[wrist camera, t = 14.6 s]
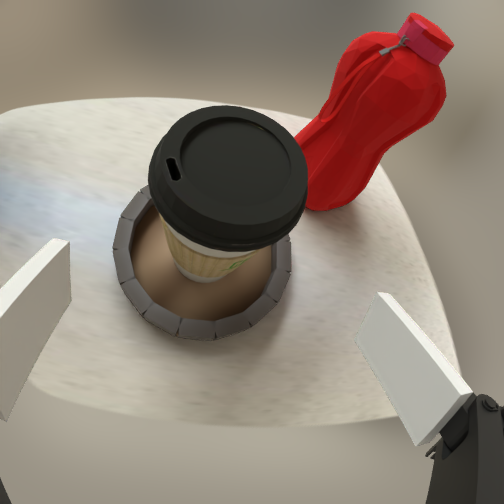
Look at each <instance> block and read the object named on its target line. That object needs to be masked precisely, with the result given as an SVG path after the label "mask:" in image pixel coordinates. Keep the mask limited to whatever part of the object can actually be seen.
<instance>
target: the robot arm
mask: <svg viewBox="0 0 504 504" xmlns="http://www.w3.org/2000/svg"><path fill="white" fill-rule="evenodd" d="M71 301H72V299H71V283H70V241H66V240H61V239H56V238H53V239H52V240H51V241H49V242H48V243H47V244H46V245H45V246H44V247H43V248H42V249H41V250H40V251H38V252H37V253H36V254H35V255H34V256H33V257H32V258H31V259H30V260H29V261H28V262H27V263H26V264H25V265H24V266H23V267H22V268H21V269H20V270H19V271H18V272H17V273H16V274H15V275H14V276H13V277H12V278H11V279H10V280H9V281H8V282H7V283H6V284H5V285H4V286H3V287H2V288H1V289H0V419H1V420H4V421H6V422H7V420H8V418H9V416H10V413H11V411H12V409H13V407H14V404H15V402H16V400H17V398H18V396H19V394H20V392H21V390H22V388H23V386H24V383H25V382H26V380H27V378H28V376H29V374H30V372H31V370H32V368H33V366H34V364H35V362H36V360H37V359H38V357H39V355H40V353H41V351H42V349H43V348H44V346H45V344H46V342H47V341H48V339H49V337H50V335H51V334H52V332H53V330H54V329H55V327H56V325H57V323H58V322H59V320H60V319H61V317H62V315H63V314H64V312H65V310H66V309H67V307H68V306H69V304H70V302H71ZM354 341H355V342H356V344H357V345H358V347H359V349H360V350H361V352H362V354H363V355H364V357H365V359H366V360H367V362H368V364H369V365H370V367H371V369H372V371H373V372H374V374H375V376H376V377H377V379H378V381H379V382H380V384H381V386H382V388H383V389H384V391H385V393H386V394H387V396H388V398H389V400H390V401H391V403H392V405H393V407H394V408H395V410H396V412H397V414H398V416H399V417H400V419H401V421H402V422H403V424H404V426H405V428H406V430H407V432H408V433H409V435H410V437H411V439H412V440H413V442H414V444H415V446H420V445H423V444H426V443H429V442H430V441H431V440H432V439H433V438H434V437H435V436H436V435H437V434H438V433H440V434H441V436H442V438H441V439H440V440H439V441H438V442H437V443H436V444H435V445H434V446H433V447H432V448H431V449H430V450H429V451H428V452H427V453H426V455H425V456H426V457H428V456H429V455H430V454H431V453H432V452H436V453H435V454H434V455H432V457H431V459H434V465H433V471H432V477H431V481H430V486H429V491H428V496H427V500H426V504H504V406H503V407H501V406H499V405H498V404H497V403H496V402H495V401H494V400H493V399H492V398H491V397H489V396H488V395H484V394H480V395H478V396H476V395H475V394H474V393H473V391H472V390H471V389H470V388H469V386H468V385H467V384H466V382H465V381H464V380H463V379H462V377H461V376H460V375H459V374H458V372H457V371H456V370H455V369H454V367H453V366H452V365H451V364H450V362H449V361H448V360H447V359H446V358H445V356H444V355H443V354H442V353H441V352H440V350H439V349H438V348H437V347H436V346H435V345H434V343H433V342H432V341H431V340H430V339H429V337H428V336H427V335H426V334H425V333H424V332H423V331H422V329H421V328H420V327H419V326H418V325H417V324H416V323H415V321H414V320H413V319H412V318H411V317H410V316H409V315H408V314H407V312H406V311H405V310H404V309H403V308H402V307H401V306H400V305H399V304H398V302H397V301H396V300H395V299H394V298H393V297H392V296H391V295H390V294H389V293H383V292H376V294H375V297H374V299H373V301H372V303H371V305H370V307H369V310H368V312H367V314H366V316H365V318H364V320H363V322H362V324H361V326H360V328H359V330H358V332H357V334H356V336H355V338H354ZM0 504H11V501H10V499H9V497H8V495H7V493H6V490H5V488H4V486H3V484H2V481H1V479H0Z"/></svg>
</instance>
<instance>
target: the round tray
mask: <svg viewBox="0 0 504 504" xmlns="http://www.w3.org/2000/svg"><path fill="white" fill-rule="evenodd" d="M140 191H141V192H139V191H138V192H137V194H136V195H135V196H134V198H133V199H132V200H131V202H130V203H129V204H128V206H127V207H126V208H125V210H124V211H123V213H122V214H121V218H119V221H118V226H117V230H116V234H115V239H114V243H113V256H114V261H115V266H116V270H117V275H118V280H119V283H120V285H121V287H122V289H123V291H124V293H125V294H126V295H127V297H128V298H129V299H130V301H131V302H132V304H133V305H134V306H135V308H136V309H137V310H138V312H139V313H140V314H141V315H142V317H143V318H145V320H146V321H148V322H150V323H152V324H153V325H155V326H157V327H159V328H160V329H162V330H164V331H166V332H168V333H169V334H171V335H173V336H175V335H177V336H178V338H187V339H197V340H207V341H211V340H217V339H220V338H223V337H226V336H230V335H233V334H236V333H239V332H242V331H245V330H247V329H249V328H251V327H252V326H254V325H255V324H256V323H257V322H258V321H259V320H260V319H262V318H263V317H264V316H265V315H266V314H267V313H268V312H269V311H270V310H271V309H272V308H274V307H275V306H276V305H277V304H276V303H278V302H279V300H280V298H281V296H282V293H283V291H284V289H285V286H286V284H287V282H288V279H289V277H290V272H291V242H289V241H290V237H289V235H286V236H285V237H283V238H282V239H281V240H279V241H278V242H276V243H274V244H272V245H269V246H267V247H265V248H263V249H261V250H260V251H259V252H257V253H256V254H255V255H254V256H252V257H251V258H250V259H248V260H247V261H246V262H244V263H243V264H242V265H241V266H239V267H238V268H237V269H235V270H234V271H232V272H231V273H229V274H227V275H226V276H224V277H223V278H221V279H220V280H217V281H215V282H210V283H200V282H195V281H193V280H190V279H188V278H187V277H185V276H184V275H183V274H182V273H181V272H180V271H179V270H178V268H177V267H176V265H175V262H174V259H173V257H172V255H171V252H170V250H169V247H168V244H167V240H166V237H165V233H164V230H163V226H162V222H161V219H160V215H159V212H158V210H157V209H156V207H155V205H154V202H153V200H152V198H151V195H150V191H149V185H147V186H145V187H144V188H142V189H140Z"/></svg>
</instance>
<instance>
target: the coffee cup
mask: <svg viewBox="0 0 504 504" xmlns="http://www.w3.org/2000/svg"><path fill="white" fill-rule="evenodd" d="M148 184H149V191H150V195H151V198H152V200H153V202H154V205H155V207H156V209H157V210H158V212H159V215H160V219H161V222H162V226H163V230H164V233H165V237H166V240H167V244H168V247H169V250H170V252H171V255H172V257H173V259H174V262H175V265H176V267H177V268H178V270H179V271H180V272H181V273H182V274H183V275H184V276H185V277H187V278H188V279H190V280H193V281H195V282H200V283H210V282H215V281H217V280H220V279H221V278H223V277H224V276H226V275H227V274H229V273H231V272H232V271H234V270H235V269H237V268H238V267H239V266H241V265H242V264H243V263H244V262H246V261H247V260H248V259H250V258H251V257H252V256H254V255H255V254H256V253H257V252H259V251H260V250H261V249H263V248H265V247H267V246H269V245H272V244H274V243H276V242H278V241H279V240H281V239H282V238H283V237H285V236H286V235H288V234H289V232H290V231H291V230H292V229H293V228H294V227H295V226H296V224H297V223H298V221H299V219H300V217H301V215H302V213H303V211H304V208H305V205H306V201H307V196H308V167H307V163H306V159H305V156H304V154H303V152H302V149H301V147H300V146H299V144H298V143H297V141H296V140H295V139H294V137H293V136H292V135H291V134H290V133H289V132H288V131H287V130H286V129H285V128H284V127H282V126H281V125H280V124H278V123H277V122H276V121H274V120H273V119H271V118H269V117H267V116H265V115H264V114H261V113H259V112H256V111H253V110H250V109H246V108H242V107H237V106H227V105H225V106H211V107H206V108H201V109H198V110H196V111H193V112H191V113H189V114H187V115H185V116H184V117H182V118H180V119H179V120H178V121H177V122H176V123H175V124H174V125H173V126H172V127H171V128H170V130H169V131H168V133H167V134H166V135H165V136H164V137H163V138H162V139H161V141H160V142H159V144H158V145H157V147H156V148H155V150H154V153H153V156H152V159H151V162H150V165H149V173H148Z"/></svg>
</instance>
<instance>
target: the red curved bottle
mask: <svg viewBox="0 0 504 504" xmlns="http://www.w3.org/2000/svg"><path fill="white" fill-rule="evenodd" d="M453 47H454V44H453V42H452V41H451V40H450V39H449V37H448V36H447V35H446V34H445V33H444V32H443V31H442V30H441V29H440V28H439V27H438V26H437V25H435V24H434V23H432V22H431V21H429V20H427V19H426V18H424V17H423V16H421V15H419V14H416V13H410V15H409V16H408V18H407V20H406V21H405V23H404V24H403V26H402V27H401V29H400V30H399V32H398V33H397V34H396V33H386V32H369V33H366V34H364V35H362V36H360V37H358V38H356V39H355V40H353V41H352V42H351V44H350V45H349V46H348V48H347V49H346V51H345V52H344V54H343V55H342V57H341V59H340V61H339V63H338V65H337V68H336V72H335V76H334V81H333V84H332V87H331V91H330V95H329V99H328V100H327V101H326V103H325V104H324V106H323V107H322V109H321V111H320V113H319V114H318V115H317V116H316V117H315V118H314V119H313V120H312V121H311V122H310V123H309V124H308V125H307V126H306V127H305V128H303V129H302V130H301V131H300V132H299V133H298V134H297V135H296V136H295V137H294V139H295V140H296V141H297V143H298V144H299V146H300V147H301V149H302V152H303V154H304V156H305V159H306V163H307V167H308V196H307V201H306V205H305V206H306V207H308V208H309V209H311V210H318V211H327V210H330V209H334V208H337V207H341V206H344V205H346V204H348V203H349V202H351V201H352V200H354V199H355V198H356V197H357V196H358V195H359V194H360V193H361V192H362V191H363V190H364V189H365V187H366V185H367V184H368V182H369V180H370V178H371V177H372V175H373V173H374V171H375V169H376V168H377V166H378V164H379V162H380V160H381V158H382V156H383V155H384V153H385V152H386V151H387V150H388V149H389V148H390V147H392V146H393V145H395V144H396V143H398V142H399V141H401V140H403V139H404V138H406V137H407V136H409V135H411V134H412V133H414V132H415V131H417V130H419V129H420V128H422V127H423V126H425V125H427V124H428V123H430V122H431V121H433V120H434V118H435V117H436V115H437V114H438V112H439V110H440V109H441V107H442V106H443V103H444V101H445V98H446V87H445V80H444V77H443V74H442V72H441V70H440V67H439V64H440V62H441V61H442V60H443V59H444V58H445V56H446V55H447V54H448V52H449V51H450V50H451V49H452V48H453Z"/></svg>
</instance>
